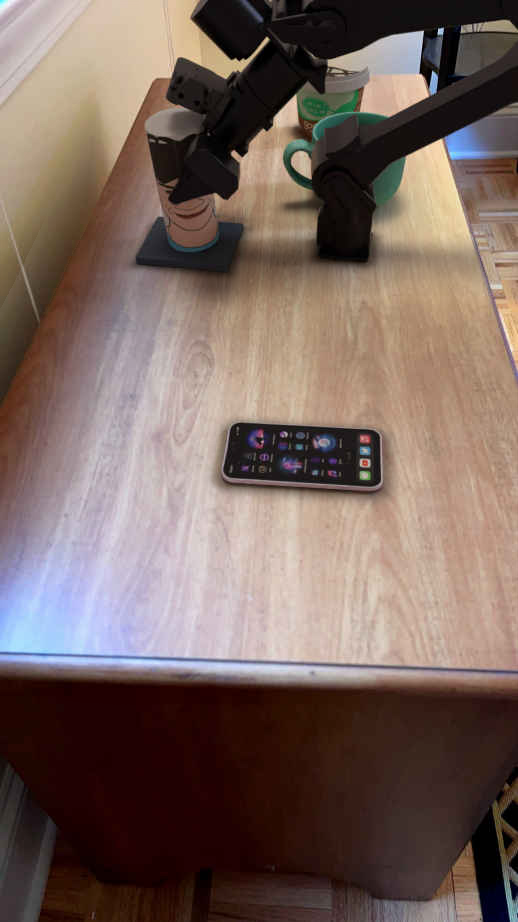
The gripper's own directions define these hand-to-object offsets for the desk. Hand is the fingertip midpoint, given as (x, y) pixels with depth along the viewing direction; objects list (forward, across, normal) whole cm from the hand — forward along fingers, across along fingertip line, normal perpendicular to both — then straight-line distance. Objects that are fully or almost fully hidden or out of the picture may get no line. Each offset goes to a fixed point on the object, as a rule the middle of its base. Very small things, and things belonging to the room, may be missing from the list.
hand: (174, 187), depth 85 cm
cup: (+4, 0, +6) cm, 7 cm away
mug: (-9, -12, +21) cm, 26 cm away
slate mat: (+5, 0, +7) cm, 8 cm away
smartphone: (-5, +37, +17) cm, 41 cm away
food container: (-8, -32, +20) cm, 38 cm away
